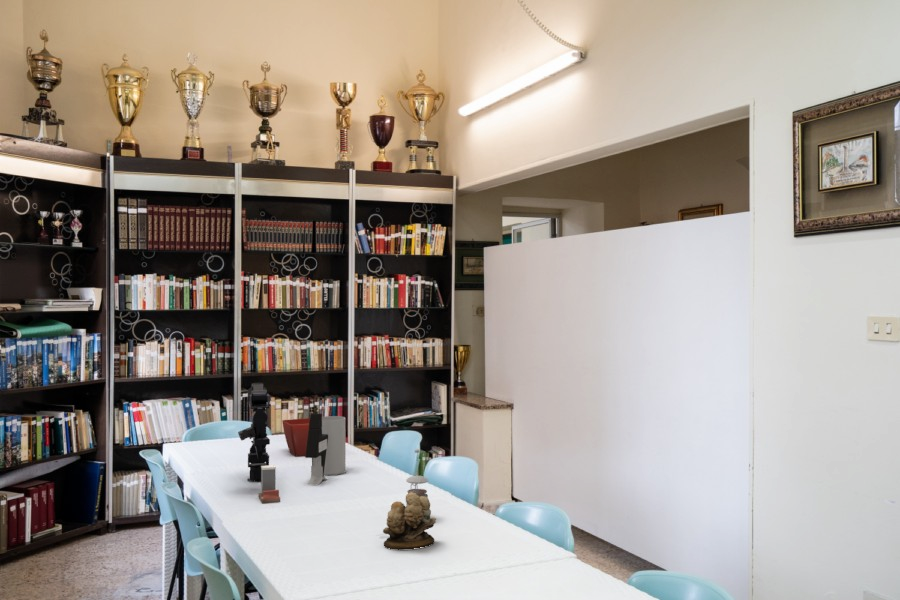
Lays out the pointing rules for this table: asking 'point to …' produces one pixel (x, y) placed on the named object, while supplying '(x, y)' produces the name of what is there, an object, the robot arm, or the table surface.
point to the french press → (417, 482)
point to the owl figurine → (409, 523)
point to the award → (316, 448)
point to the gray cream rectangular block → (267, 478)
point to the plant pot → (296, 435)
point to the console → (269, 496)
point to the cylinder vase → (334, 444)
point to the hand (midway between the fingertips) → (259, 458)
